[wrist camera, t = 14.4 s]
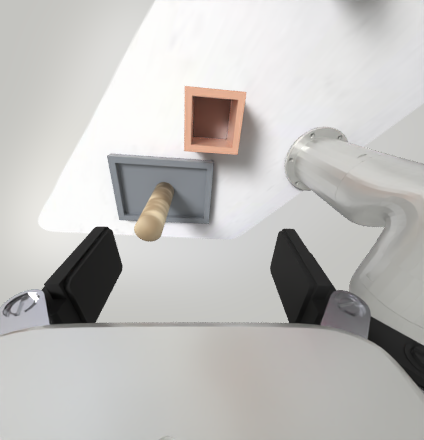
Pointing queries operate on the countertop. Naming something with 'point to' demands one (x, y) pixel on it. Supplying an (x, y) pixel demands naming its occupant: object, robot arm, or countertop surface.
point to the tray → (156, 173)
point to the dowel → (155, 213)
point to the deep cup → (234, 122)
